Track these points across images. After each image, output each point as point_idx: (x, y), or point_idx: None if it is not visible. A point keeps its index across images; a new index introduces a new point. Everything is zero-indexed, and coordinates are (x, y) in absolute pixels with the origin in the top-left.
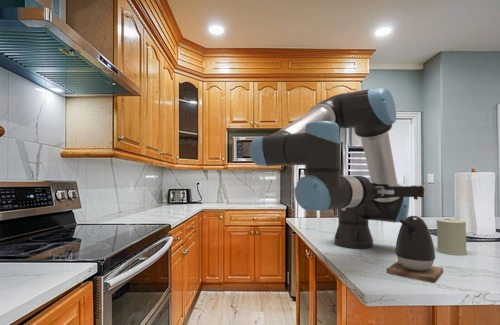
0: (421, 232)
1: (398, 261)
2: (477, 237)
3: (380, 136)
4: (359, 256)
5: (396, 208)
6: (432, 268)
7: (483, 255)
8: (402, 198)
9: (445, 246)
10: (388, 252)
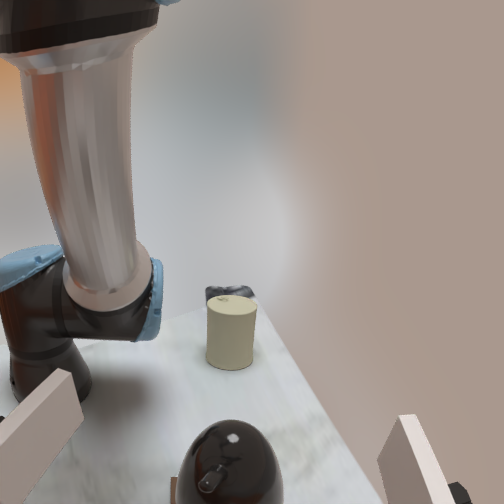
0: (268, 485)
1: (173, 488)
2: (231, 289)
3: (97, 53)
4: (72, 466)
5: (136, 318)
6: None
7: (273, 352)
8: (150, 288)
9: (225, 358)
10: (127, 411)
